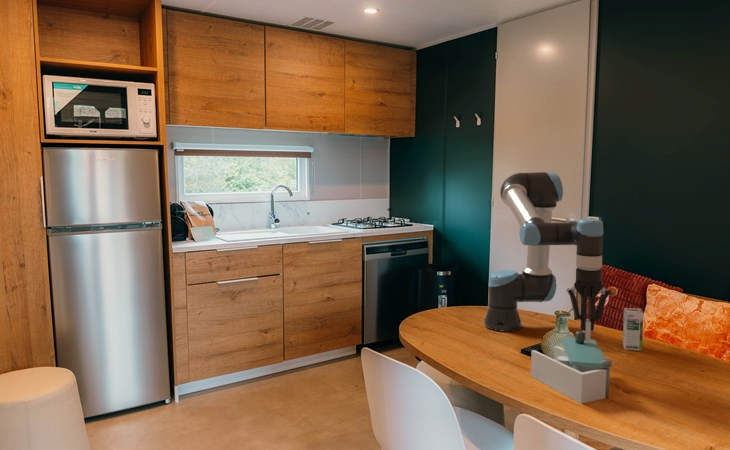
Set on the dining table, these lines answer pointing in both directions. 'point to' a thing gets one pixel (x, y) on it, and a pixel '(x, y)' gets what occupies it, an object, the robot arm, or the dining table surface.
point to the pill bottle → (564, 360)
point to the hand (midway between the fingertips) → (586, 340)
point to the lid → (584, 352)
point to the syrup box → (633, 329)
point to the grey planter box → (570, 377)
